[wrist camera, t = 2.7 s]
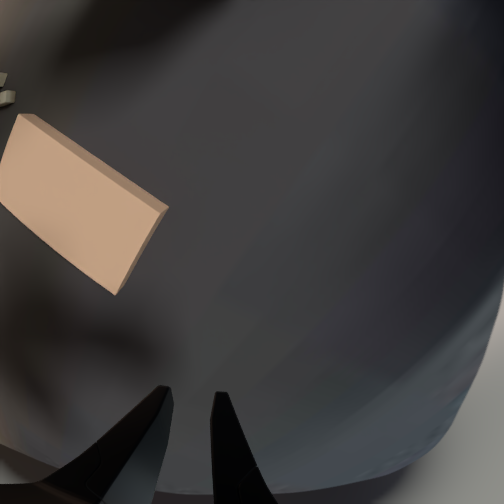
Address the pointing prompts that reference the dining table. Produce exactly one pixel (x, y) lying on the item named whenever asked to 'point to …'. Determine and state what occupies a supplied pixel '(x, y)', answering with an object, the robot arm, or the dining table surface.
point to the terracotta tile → (76, 202)
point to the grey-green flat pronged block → (6, 92)
